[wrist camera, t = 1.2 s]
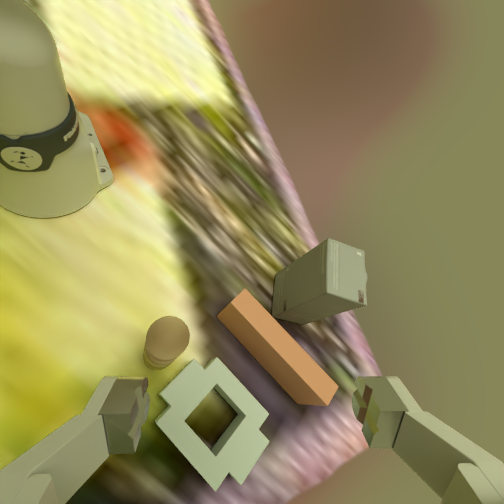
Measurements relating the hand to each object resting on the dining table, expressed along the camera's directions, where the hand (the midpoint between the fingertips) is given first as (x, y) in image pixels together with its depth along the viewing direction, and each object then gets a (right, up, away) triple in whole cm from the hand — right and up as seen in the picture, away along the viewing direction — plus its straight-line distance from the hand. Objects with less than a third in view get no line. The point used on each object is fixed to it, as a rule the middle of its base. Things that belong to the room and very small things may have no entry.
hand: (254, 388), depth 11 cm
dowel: (-13, -9, +28) cm, 32 cm away
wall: (+2, -10, +33) cm, 34 cm away
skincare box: (+7, -4, +39) cm, 39 cm away
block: (-6, -17, +26) cm, 32 cm away
